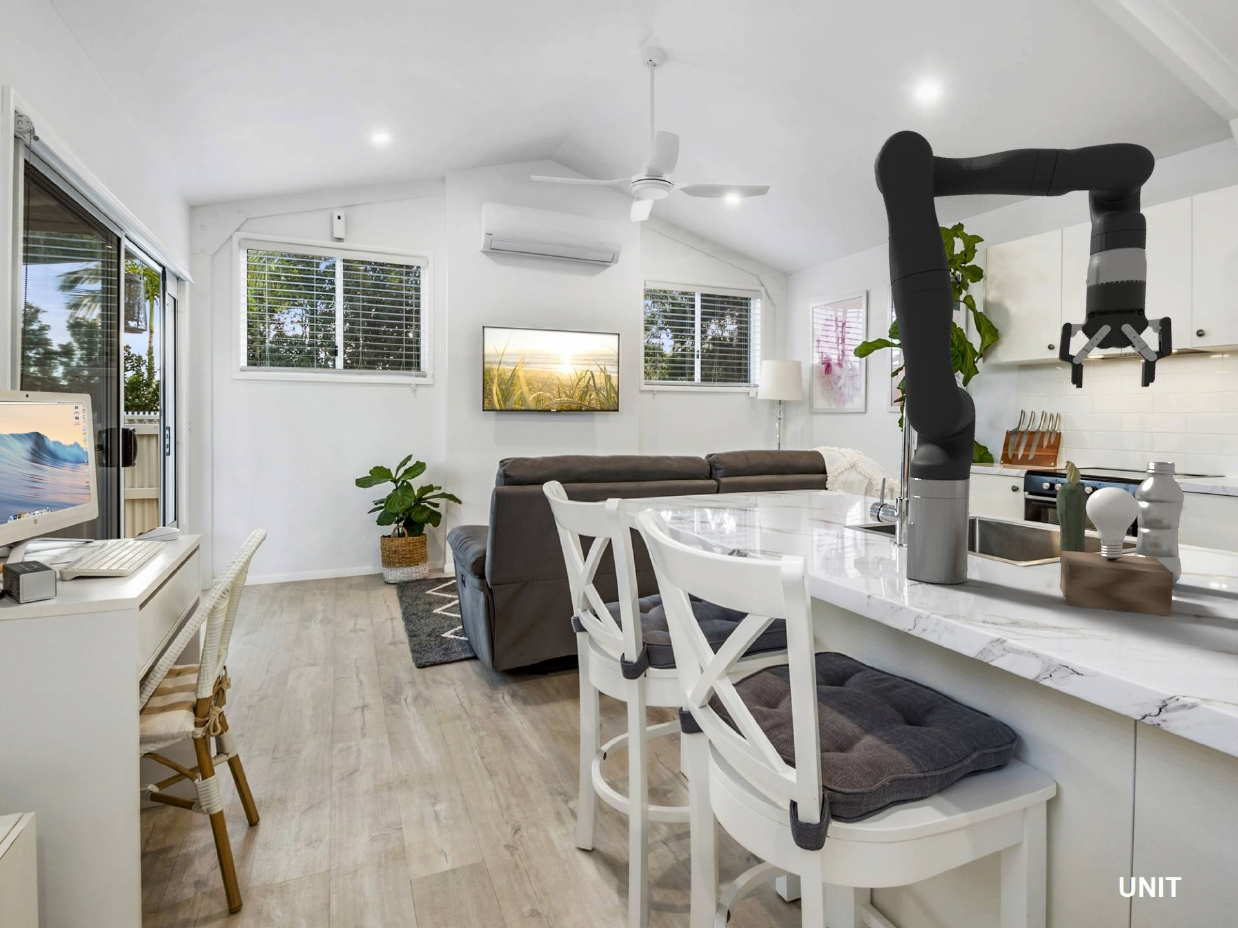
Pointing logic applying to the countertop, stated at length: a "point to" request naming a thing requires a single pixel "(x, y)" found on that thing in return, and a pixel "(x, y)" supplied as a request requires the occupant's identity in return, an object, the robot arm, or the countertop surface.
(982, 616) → the countertop surface
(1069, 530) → the vegetable
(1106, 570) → the riser block
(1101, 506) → the lightbulb
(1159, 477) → the plastic bottle
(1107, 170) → the robot arm
